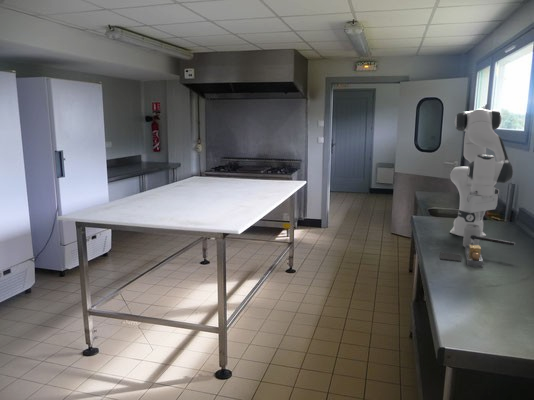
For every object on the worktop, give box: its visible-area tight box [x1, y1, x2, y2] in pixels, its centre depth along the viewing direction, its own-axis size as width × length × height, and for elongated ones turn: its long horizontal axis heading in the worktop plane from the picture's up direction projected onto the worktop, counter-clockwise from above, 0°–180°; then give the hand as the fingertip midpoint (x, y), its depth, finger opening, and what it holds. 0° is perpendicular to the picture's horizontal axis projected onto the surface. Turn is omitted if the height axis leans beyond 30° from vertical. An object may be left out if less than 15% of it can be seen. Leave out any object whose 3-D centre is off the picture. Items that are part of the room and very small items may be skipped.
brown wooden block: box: [469, 244, 482, 257], centre depth 195 cm, size 6×4×4 cm
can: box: [462, 224, 481, 248], centre depth 215 cm, size 8×8×12 cm
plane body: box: [464, 239, 484, 269], centre depth 197 cm, size 24×6×7 cm, turn 158°
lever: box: [470, 235, 516, 246], centre depth 201 cm, size 19×2×1 cm, turn 49°
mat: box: [439, 252, 462, 263], centre depth 200 cm, size 10×9×1 cm
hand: (478, 220), depth 192 cm, fingers closed
